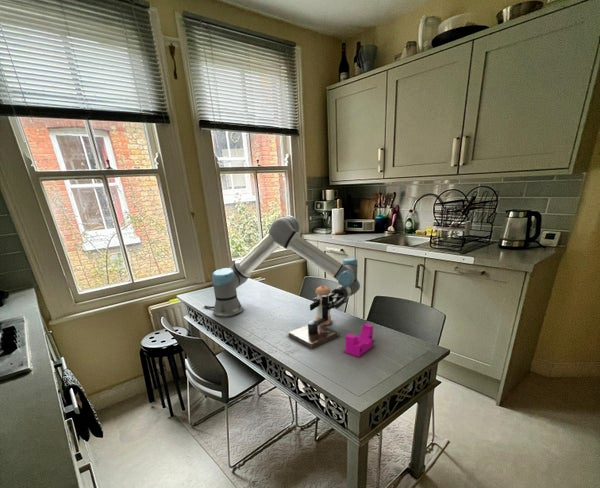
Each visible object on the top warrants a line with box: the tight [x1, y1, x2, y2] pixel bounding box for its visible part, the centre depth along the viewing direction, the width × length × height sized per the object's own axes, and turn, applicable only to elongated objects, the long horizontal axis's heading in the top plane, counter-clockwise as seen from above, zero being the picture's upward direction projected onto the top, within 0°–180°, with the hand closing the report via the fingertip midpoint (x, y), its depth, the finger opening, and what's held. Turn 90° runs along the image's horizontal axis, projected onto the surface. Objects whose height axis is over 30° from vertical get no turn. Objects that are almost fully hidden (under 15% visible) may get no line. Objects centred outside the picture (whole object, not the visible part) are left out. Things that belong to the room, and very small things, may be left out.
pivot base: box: [288, 324, 339, 349], centre depth 144 cm, size 16×16×2 cm
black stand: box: [307, 295, 328, 334], centre depth 143 cm, size 13×4×15 cm, turn 138°
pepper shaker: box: [315, 284, 332, 326], centre depth 154 cm, size 7×7×19 cm
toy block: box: [344, 322, 374, 357], centre depth 132 cm, size 15×6×8 cm, turn 138°
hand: (316, 308), depth 143 cm, fingers open, 6 cm apart
